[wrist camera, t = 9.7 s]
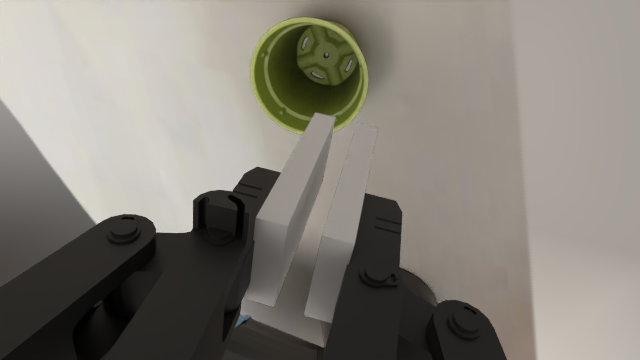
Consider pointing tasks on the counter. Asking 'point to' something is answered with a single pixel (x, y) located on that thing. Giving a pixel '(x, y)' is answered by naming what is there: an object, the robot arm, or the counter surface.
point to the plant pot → (308, 73)
